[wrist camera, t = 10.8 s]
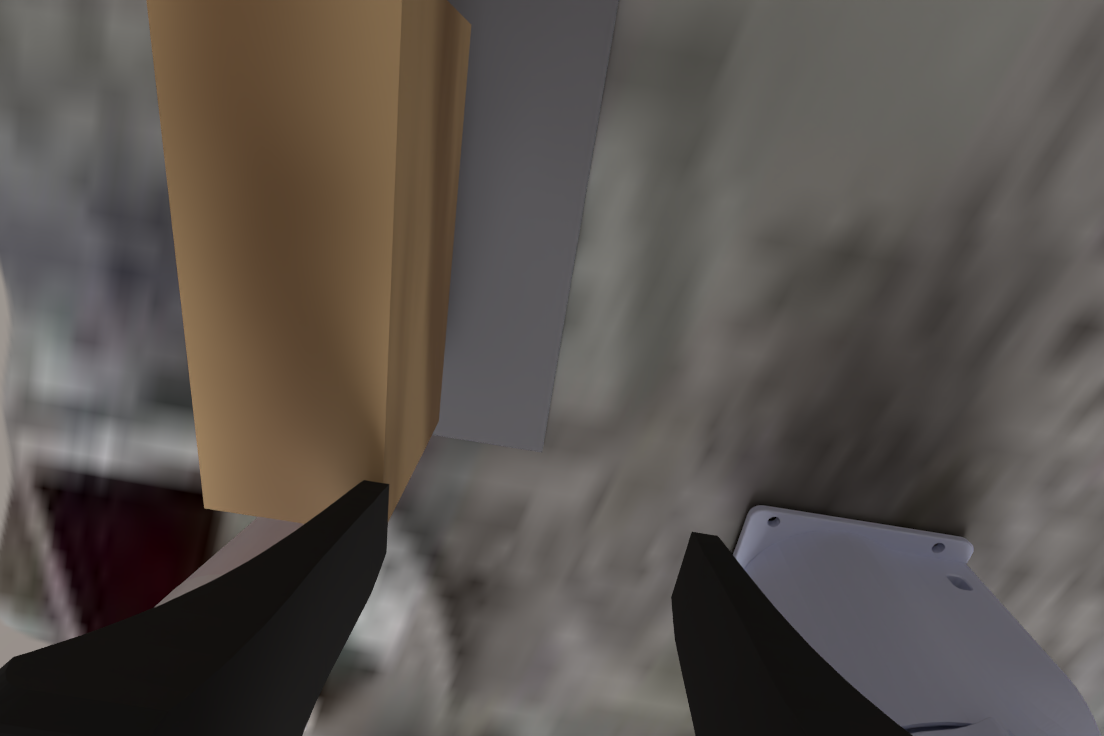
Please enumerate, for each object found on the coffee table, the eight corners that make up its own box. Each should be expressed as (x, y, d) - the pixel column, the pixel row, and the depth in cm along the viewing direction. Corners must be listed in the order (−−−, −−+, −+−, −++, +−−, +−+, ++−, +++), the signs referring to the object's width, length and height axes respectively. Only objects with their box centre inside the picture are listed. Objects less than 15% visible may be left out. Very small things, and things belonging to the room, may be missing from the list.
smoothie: (257, 434, 23) (-144, 800, 10) (406, 465, 24) (194, 861, 11) (256, 551, 26) (-68, 963, 13) (392, 578, 26) (205, 1010, 13)
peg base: (619, -8, 17) (627, -37, 14) (543, 446, 23) (537, 488, 20) (224, -75, 17) (152, -118, 14) (254, 400, 23) (209, 436, 20)
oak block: (471, 25, 15) (403, -45, 9) (438, 421, 19) (380, 535, 14) (306, -3, 15) (135, -90, 9) (313, 401, 19) (204, 508, 14)
